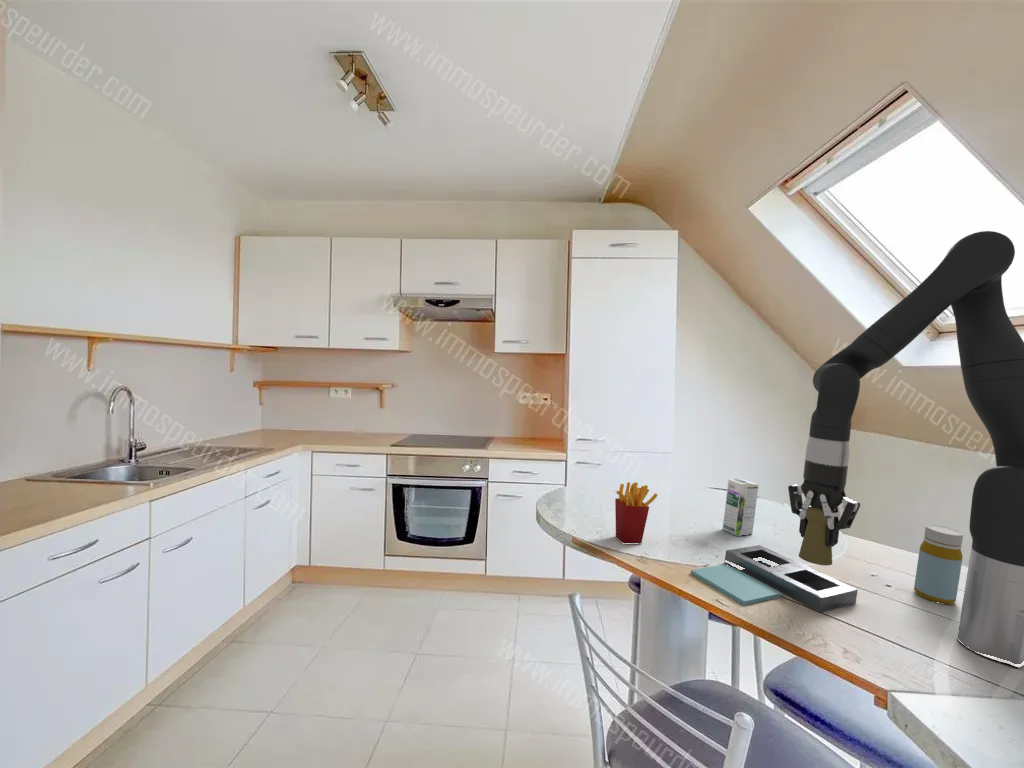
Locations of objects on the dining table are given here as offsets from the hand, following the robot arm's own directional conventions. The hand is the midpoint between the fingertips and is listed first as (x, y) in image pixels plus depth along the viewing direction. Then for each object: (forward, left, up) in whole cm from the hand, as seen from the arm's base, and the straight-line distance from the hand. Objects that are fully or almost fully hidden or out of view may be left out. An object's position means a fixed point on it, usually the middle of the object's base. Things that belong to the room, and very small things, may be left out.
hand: (817, 541), depth 105 cm
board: (+8, +13, -12) cm, 19 cm away
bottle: (-10, -27, -12) cm, 31 cm away
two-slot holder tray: (+6, 0, -12) cm, 13 cm away
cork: (0, 0, -4) cm, 4 cm away
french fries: (+35, +19, -12) cm, 42 cm away
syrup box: (+31, -15, -12) cm, 37 cm away
